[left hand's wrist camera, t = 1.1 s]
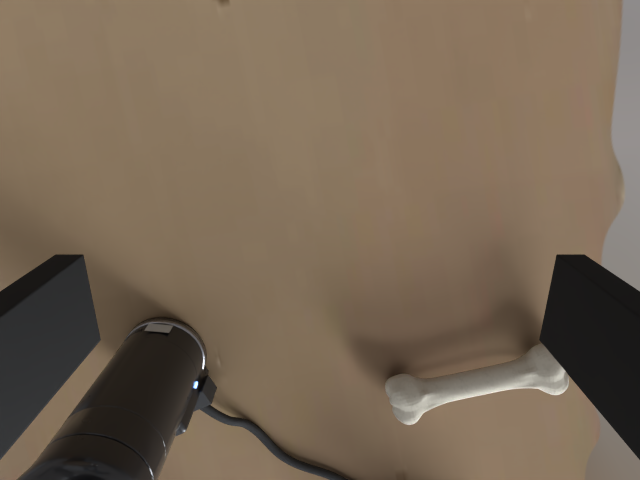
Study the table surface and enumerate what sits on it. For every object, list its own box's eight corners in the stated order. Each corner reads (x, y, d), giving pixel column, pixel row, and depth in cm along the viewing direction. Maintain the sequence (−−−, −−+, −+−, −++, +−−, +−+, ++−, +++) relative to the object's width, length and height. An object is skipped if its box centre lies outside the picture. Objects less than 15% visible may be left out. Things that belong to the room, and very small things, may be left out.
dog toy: (390, 407, 54) (397, 439, 49) (380, 368, 52) (386, 397, 47) (556, 372, 52) (579, 401, 47) (552, 330, 50) (576, 356, 45)
